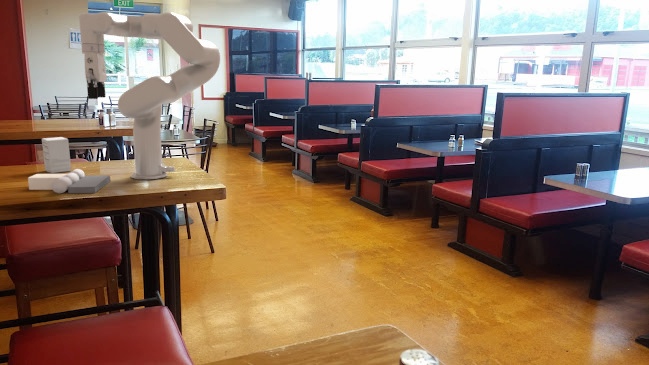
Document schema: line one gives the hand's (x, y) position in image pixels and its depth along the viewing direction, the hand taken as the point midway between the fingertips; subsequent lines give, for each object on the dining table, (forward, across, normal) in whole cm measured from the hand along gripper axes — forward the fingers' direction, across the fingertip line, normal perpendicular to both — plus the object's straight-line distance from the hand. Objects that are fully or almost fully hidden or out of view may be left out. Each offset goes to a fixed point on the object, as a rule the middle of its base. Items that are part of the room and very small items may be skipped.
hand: (97, 98), depth 180 cm
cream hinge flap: (+28, -22, +9) cm, 37 cm away
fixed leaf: (+28, -22, 0) cm, 36 cm away
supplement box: (+28, +6, +18) cm, 34 cm away
